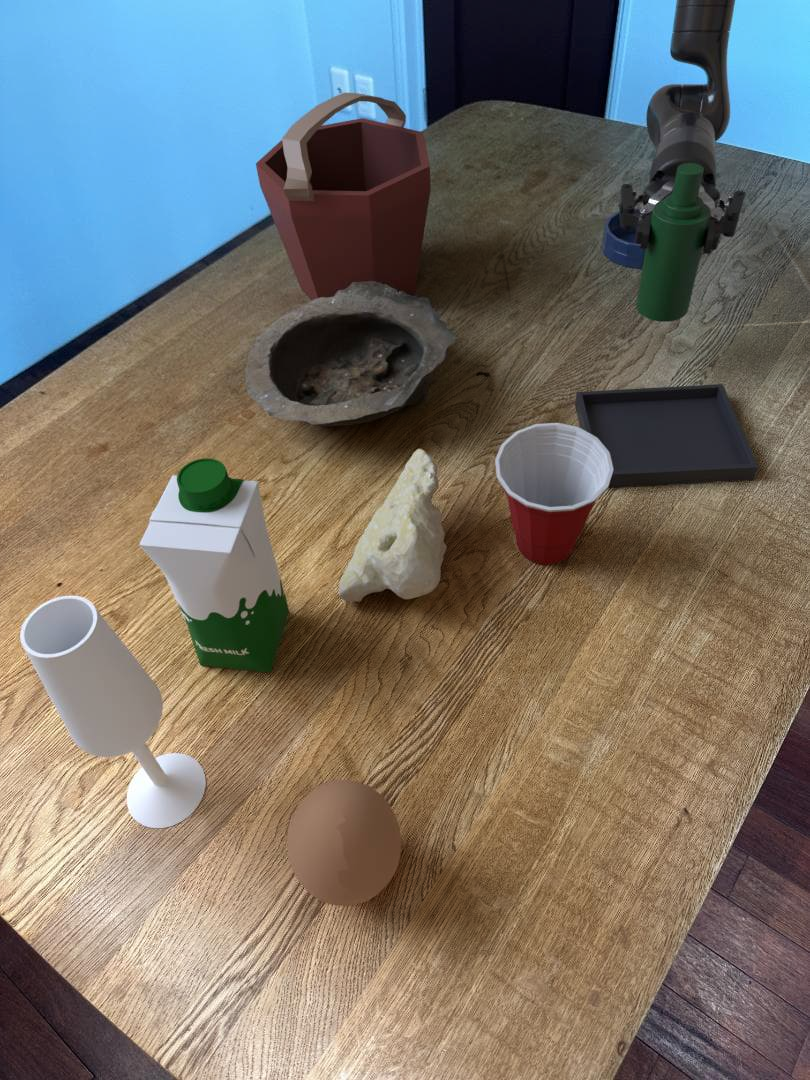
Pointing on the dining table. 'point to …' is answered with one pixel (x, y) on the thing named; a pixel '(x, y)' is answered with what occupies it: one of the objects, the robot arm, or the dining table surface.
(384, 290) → the stone bowl
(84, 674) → the champagne flute
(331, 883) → the egg
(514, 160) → the dining table surface
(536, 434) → the plastic cup
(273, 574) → the milk carton
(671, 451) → the tray
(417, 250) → the bucket
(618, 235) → the bowl
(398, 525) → the cheese
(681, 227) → the bottle
